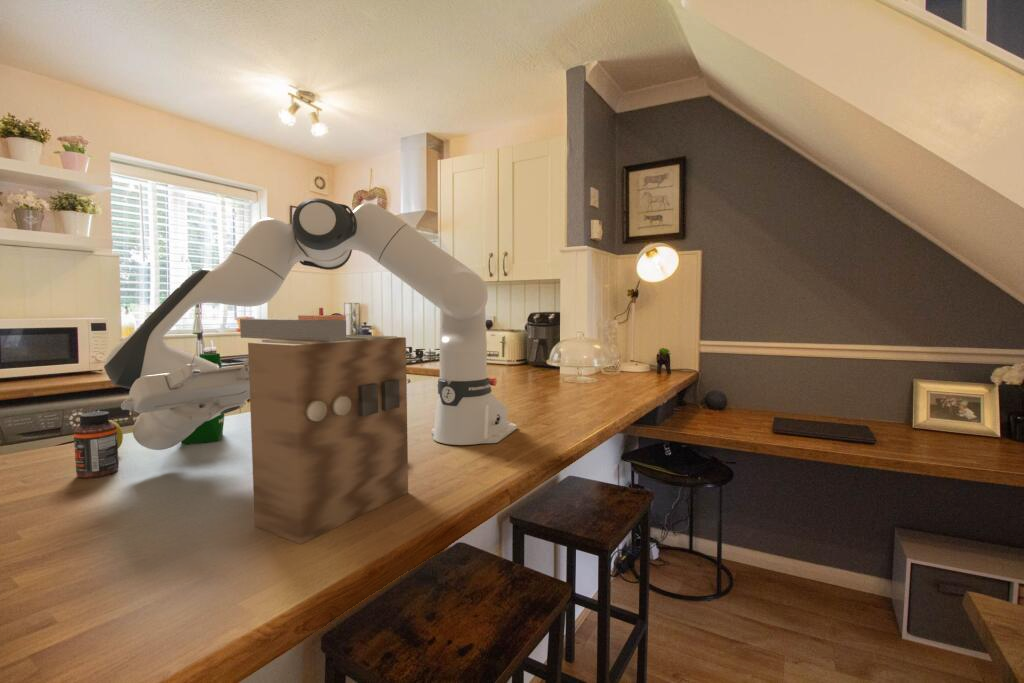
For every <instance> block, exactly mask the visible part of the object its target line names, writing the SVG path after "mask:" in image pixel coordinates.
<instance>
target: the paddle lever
mask: <svg viewBox="0 0 1024 683" xmlns="http://www.w3.org/2000/svg"><path fill="white" fill-rule="evenodd" d="M297 316H298V317H297V318H296V319H295V318H289V319H288V318H240V319H239V331H240V333H239V334H240V338H241V339H242V338H245V339H260V340H261V339H262V340H267V339H280V340H300V341H320V342H335V341H346V335H347V318H346V315H343V314H341V315H340V314H339V315H333V314H331V315H329V314H326V315H325V314H324V315H321V314H319V315H314V314H313V315H297Z"/></svg>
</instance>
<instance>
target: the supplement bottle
mask: <svg viewBox="0 0 1024 683" xmlns="http://www.w3.org/2000/svg"><path fill="white" fill-rule="evenodd" d="M110 418H111V417H110V412H109V411H103V410H102V411H101V410H100V411H98V410H97V411H91V412H86V413H81V414H80V416H79V419H80V420H79V422H80V423H79V426H77V427H75V428H74V431H73V442H74V456H75V458H74V459H75V472H76V476H77V477H79V478H82V479H92V478H93V477H94V478H100V477H99V476H101V477H105V476H108V475H111V474H113V473H115V472H117V471H118V470H119V468H120V466H119V464H120V463H119V448H118V441H117V427H116V425H115V424H114V423H112V422H110V421H108V420H109V419H110ZM104 475H105V476H104ZM94 478H93V479H94Z"/></svg>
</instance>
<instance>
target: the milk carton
mask: <svg viewBox="0 0 1024 683" xmlns="http://www.w3.org/2000/svg"><path fill="white" fill-rule="evenodd" d="M199 357H201V358H203V359H205V360H208V361H210V362H212V363H214V364H216V365H218V366H219V367H220V368H223V366H222V364H223V363H222V361H221V354H220V353H216V352H215V353H214V352H212V353H208V352H207V353H201V354H199ZM224 422H225V414H222V415H219V416H217V417H215V418H213V419H211V420H209V421H205V422H204V423H203V424H201V425H200V426H199V427H197V428H196V429H195V430H194V432H192V433H191V434H190V435H189V436H188V437H187V438H185V439H184V440H183V441H181V442H180V444H181V445H182V444H186V445H191V444H190V443H196V444H202V443H201V442H206V443H214V442H213V441H216V442H219V441H220V439H221V437H222V436H223V432H224Z"/></svg>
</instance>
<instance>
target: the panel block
mask: <svg viewBox="0 0 1024 683" xmlns="http://www.w3.org/2000/svg"><path fill="white" fill-rule="evenodd" d="M247 350H248V355H247V356H248V359H249V384H250V399H249V402H250V403H249V405H250V407H249V408H250V429H251V430H250V432H251V456H252V457H251V458H252V461H251V462H252V482H253V483H252V484H253V514H254V516H253V518H254V527H255V528H258V529H261V530H263V531H266V532H268V533H271V534H273V535H276V536H278V537H281V538H283V539H286V540H288V541H290V542H294V543H296V544H298V545H302V544H304V543H306V542H308V541H311V540H312V539H315V538H317V537H319V536H321V535H322V534H323V535H324V534H325V533H327V532H329V531H331V530H333V529H335V528H337V527H340V526H342V525H343V524H345V523H348V522H350V521H351V520H354V519H356V518H359V517H360V516H362V515H364V514H366V513H369V512H370V511H372V510H375V509H377V508H379V507H381V506H383V505H386V504H387V503H390V502H392V501H393V500H396V499H398V498H400V497H402V496H403V495H406V494H408V493H409V458H408V457H409V456H408V453H409V452H408V451H409V450H408V449H409V448H408V445H409V444H408V396H407V395H408V393H407V392H408V390H407V387H408V386H407V380H408V378H407V338H406V337H405V336H404V337H401V336H397V335H375V334H373V335H372V334H346V341H335V342H320V341H300V340H280V339H262V340H261V341H255V342H247ZM401 495H402V496H401ZM399 496H400V497H399ZM397 497H398V498H397Z"/></svg>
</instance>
